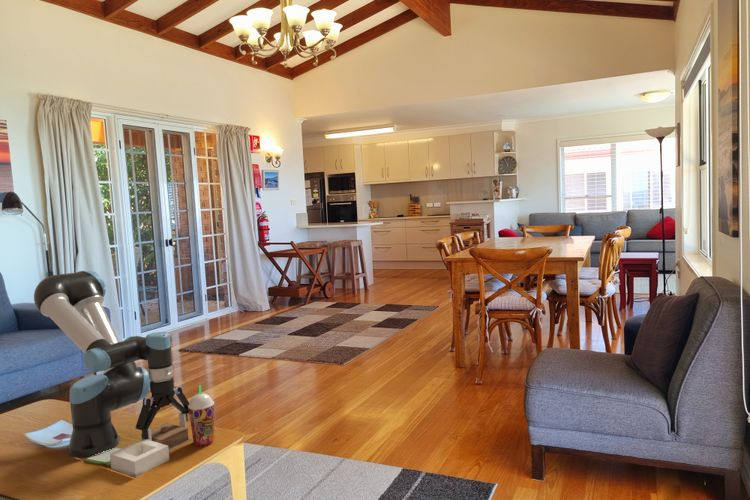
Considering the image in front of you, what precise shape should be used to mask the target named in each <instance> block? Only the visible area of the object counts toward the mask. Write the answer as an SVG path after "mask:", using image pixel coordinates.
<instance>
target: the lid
mask: <svg viewBox="0 0 750 500" xmlns="http://www.w3.org/2000/svg"><path fill="white" fill-rule="evenodd" d="M140 436H141V437H140V438H141V440H142V439H143V438H142V433H141V434H140ZM151 437H152V441H154V442H157V443H161V444H164V445H168V448H169V449H170V448H172V447H174V446H176V445H179V444H181V443H183V442H185V441H187V440H189V439H190V437H189V428H188V427H187V428H185V427H181V426H180V425H177V424H173V423H169V422H167V423H164V424H162V425H160V426H158V427H155V428H153V429H151ZM189 441H190V440H189ZM187 442H188V441H187ZM185 443H186V442H185ZM183 444H184V443H183ZM181 445H182V444H181ZM179 446H180V445H179Z"/></svg>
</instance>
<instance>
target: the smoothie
mask: <svg viewBox="0 0 750 500" xmlns="http://www.w3.org/2000/svg"><path fill="white" fill-rule="evenodd" d="M188 408H189V413H188V415H189V421H190V427H191V434H192V441H193V443H194V445H195V446H197V447H206V446H210V445H211V444H213V443H214V440H215V400H213V398H212V397H211V395H209V394H208V393H205V392H202V385H198V393H196V394H195V395H193V396H192V398H190V401H189V405H188Z"/></svg>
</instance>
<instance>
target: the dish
mask: <svg viewBox="0 0 750 500" xmlns="http://www.w3.org/2000/svg"><path fill="white" fill-rule="evenodd" d="M169 451H170V450H169V448H168V445H164V444H161V443H157V442H154V441H150V440H147V439H146V440H145V439H142V438H141V440H138V441H136V442H133V443H131V444H129V445H127V446H124V447H122V448H120V449H117V450H115V451H113V452H111V453H109V457H110V459H109V460H110V469H111V470H112V471H115V472H119V473H121V474H124V475H126V476H129V477H131V478H135V479H136V478H137V477H138V476H140V475H142V474H144V473H146V472H148V471H150V470H153V469H154V468H156V467H158V466H161V465H162V464H164V463H166V462H168V461H170V452H169Z"/></svg>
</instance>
